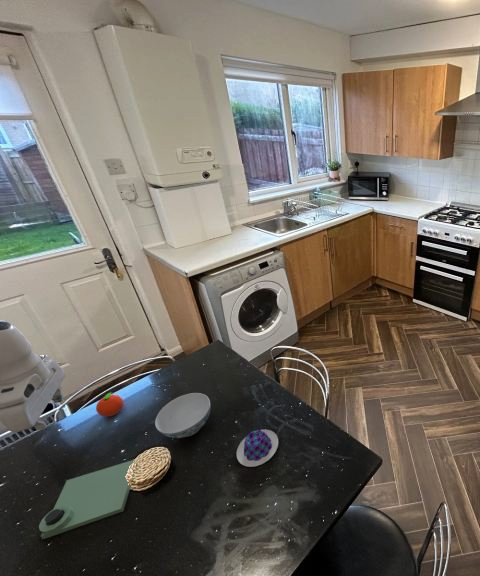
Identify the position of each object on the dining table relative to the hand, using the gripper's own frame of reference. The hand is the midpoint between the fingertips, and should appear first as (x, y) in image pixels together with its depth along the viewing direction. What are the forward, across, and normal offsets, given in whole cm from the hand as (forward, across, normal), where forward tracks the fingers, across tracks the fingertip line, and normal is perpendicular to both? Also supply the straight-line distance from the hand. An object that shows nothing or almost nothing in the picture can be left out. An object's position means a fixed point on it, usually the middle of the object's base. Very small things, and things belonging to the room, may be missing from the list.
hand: (52, 413), depth 85 cm
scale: (+17, +18, +8) cm, 26 cm away
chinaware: (+17, +4, +30) cm, 34 cm away
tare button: (+15, +22, +3) cm, 26 cm away
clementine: (+17, -14, +5) cm, 23 cm away
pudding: (+17, +20, +49) cm, 56 cm away
